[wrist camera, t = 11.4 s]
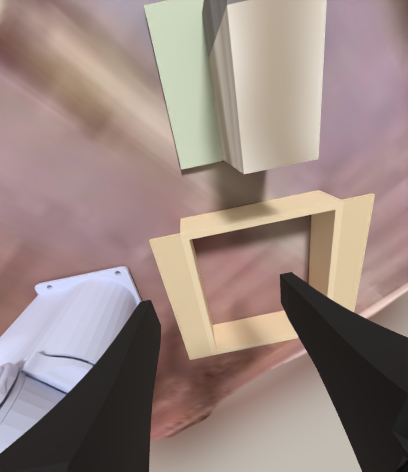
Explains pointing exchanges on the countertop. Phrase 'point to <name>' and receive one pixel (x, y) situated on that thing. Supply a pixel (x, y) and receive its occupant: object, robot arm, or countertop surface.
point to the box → (266, 79)
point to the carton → (311, 203)
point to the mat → (186, 79)
